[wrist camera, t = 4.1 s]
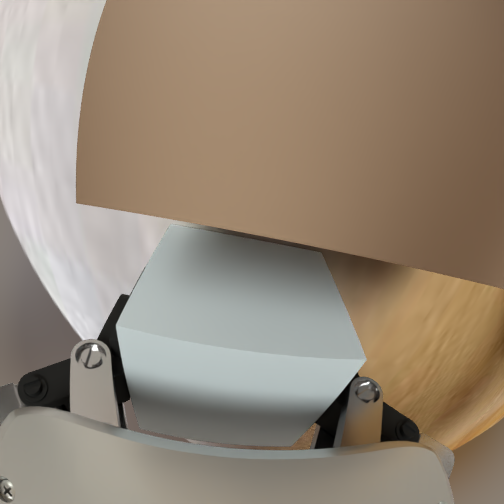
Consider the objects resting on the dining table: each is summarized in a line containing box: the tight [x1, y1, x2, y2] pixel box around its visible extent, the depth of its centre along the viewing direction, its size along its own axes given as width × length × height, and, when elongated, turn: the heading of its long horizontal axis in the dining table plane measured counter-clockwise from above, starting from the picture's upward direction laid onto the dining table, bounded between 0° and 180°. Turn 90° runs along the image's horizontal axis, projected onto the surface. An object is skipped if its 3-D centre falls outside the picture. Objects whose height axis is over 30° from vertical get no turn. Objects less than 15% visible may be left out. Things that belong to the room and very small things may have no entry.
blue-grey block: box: [116, 224, 367, 447], centre depth 10 cm, size 6×6×6 cm
